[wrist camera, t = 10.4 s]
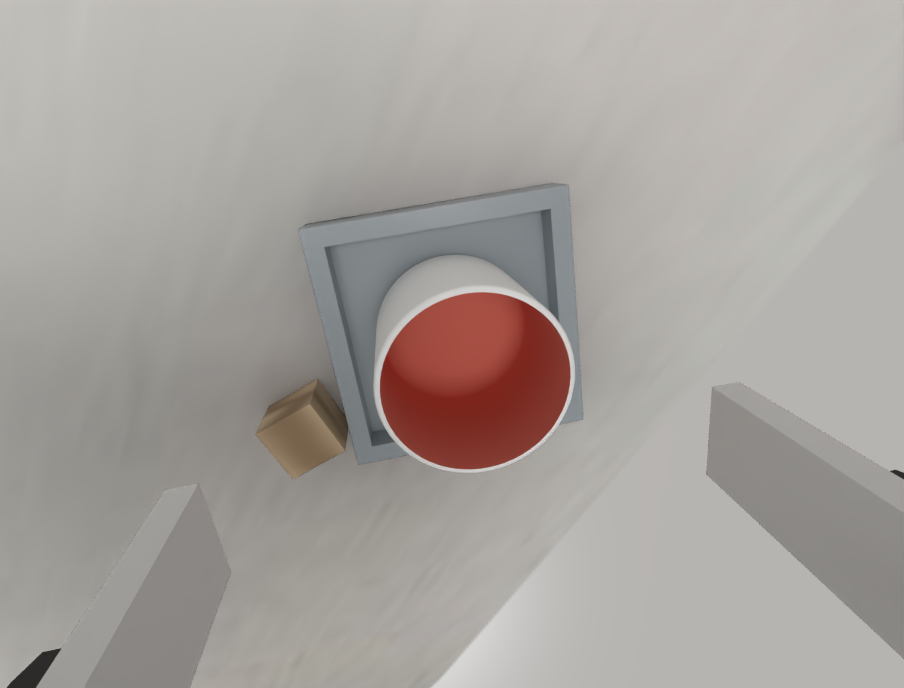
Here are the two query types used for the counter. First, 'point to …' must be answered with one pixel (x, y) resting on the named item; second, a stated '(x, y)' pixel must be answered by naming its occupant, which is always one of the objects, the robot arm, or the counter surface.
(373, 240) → the tray
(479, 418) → the cup
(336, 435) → the oak block
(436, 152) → the counter surface
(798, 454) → the robot arm
